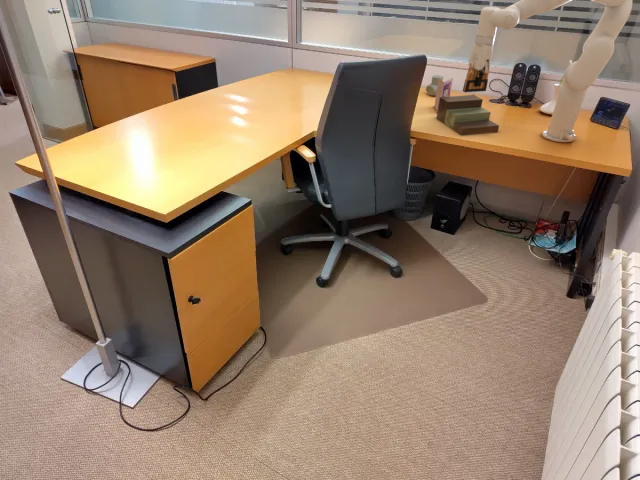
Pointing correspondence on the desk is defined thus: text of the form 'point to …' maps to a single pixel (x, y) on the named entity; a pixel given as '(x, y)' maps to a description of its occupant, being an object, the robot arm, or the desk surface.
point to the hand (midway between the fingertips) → (475, 85)
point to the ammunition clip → (471, 78)
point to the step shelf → (465, 115)
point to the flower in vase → (550, 106)
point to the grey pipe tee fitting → (433, 85)
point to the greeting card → (442, 91)
